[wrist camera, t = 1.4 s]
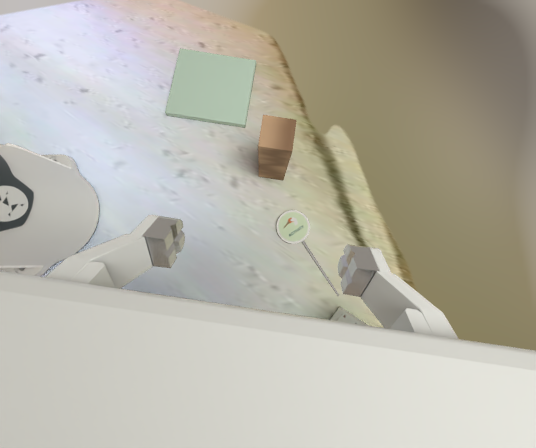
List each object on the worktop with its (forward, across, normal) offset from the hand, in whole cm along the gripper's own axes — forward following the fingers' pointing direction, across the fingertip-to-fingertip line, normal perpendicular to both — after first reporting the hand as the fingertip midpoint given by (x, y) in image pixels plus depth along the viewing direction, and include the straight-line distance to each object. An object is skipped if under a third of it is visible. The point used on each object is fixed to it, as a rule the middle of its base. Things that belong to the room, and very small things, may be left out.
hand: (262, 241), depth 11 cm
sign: (+17, -7, +16) cm, 25 cm away
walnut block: (+26, 0, +6) cm, 27 cm away
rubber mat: (+34, +13, -2) cm, 37 cm away
